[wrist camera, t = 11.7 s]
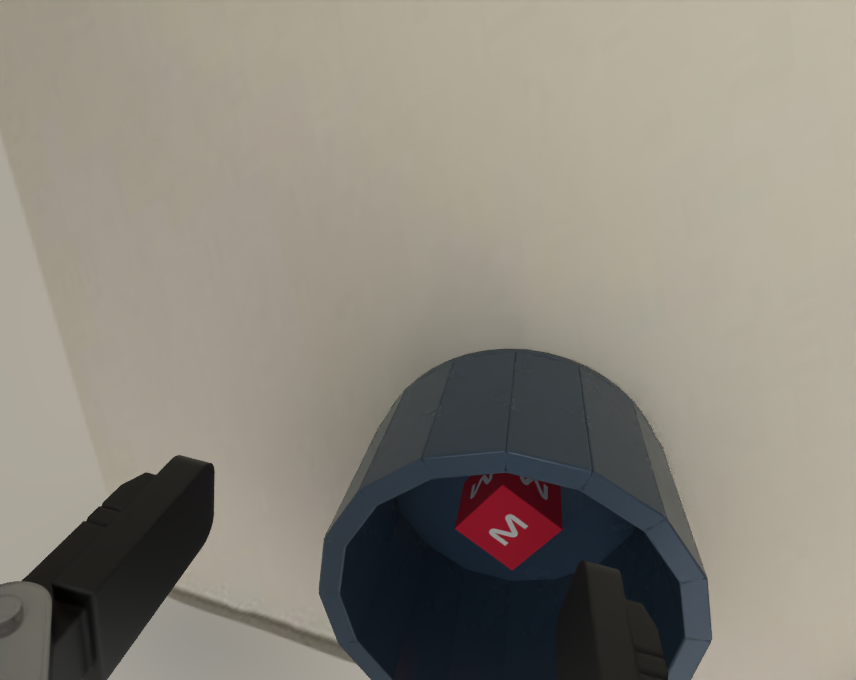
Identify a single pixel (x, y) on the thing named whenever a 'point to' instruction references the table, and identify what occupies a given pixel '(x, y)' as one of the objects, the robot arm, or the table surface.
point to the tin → (474, 567)
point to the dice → (509, 515)
